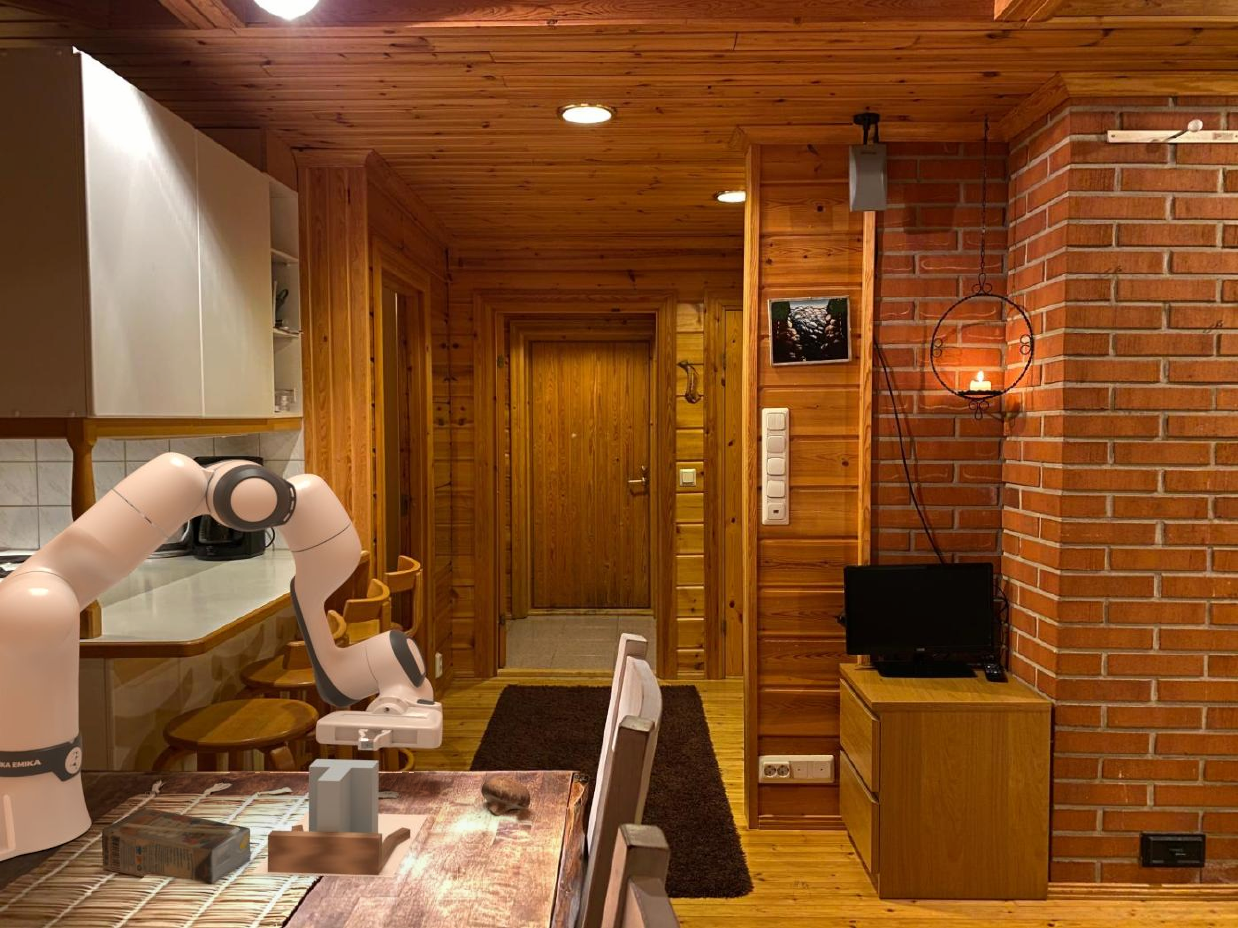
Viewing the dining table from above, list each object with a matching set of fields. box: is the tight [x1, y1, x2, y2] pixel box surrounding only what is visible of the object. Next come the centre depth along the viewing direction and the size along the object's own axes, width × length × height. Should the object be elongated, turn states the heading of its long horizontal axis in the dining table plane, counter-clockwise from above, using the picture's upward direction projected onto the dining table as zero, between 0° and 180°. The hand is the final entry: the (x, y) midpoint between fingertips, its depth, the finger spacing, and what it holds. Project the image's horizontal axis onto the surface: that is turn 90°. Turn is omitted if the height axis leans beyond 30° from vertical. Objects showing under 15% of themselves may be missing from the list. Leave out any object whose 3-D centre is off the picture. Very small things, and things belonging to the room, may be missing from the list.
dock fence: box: [267, 825, 410, 875], centre depth 128 cm, size 18×12×5 cm
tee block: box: [308, 758, 380, 833], centre depth 127 cm, size 9×8×12 cm
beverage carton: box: [101, 807, 252, 885], centre depth 125 cm, size 8×19×6 cm, turn 73°
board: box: [250, 811, 429, 879], centre depth 131 cm, size 19×20×1 cm
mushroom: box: [480, 776, 531, 817], centre depth 145 cm, size 8×8×6 cm
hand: (367, 745), depth 142 cm, fingers closed
